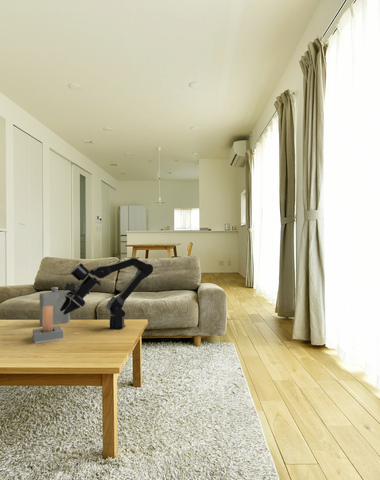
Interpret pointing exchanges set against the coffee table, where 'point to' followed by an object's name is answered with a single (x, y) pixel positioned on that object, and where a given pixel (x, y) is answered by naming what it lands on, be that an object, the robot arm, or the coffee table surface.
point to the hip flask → (54, 305)
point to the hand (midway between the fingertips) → (62, 312)
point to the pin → (47, 318)
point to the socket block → (47, 335)
